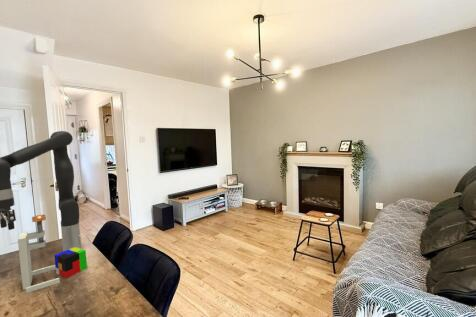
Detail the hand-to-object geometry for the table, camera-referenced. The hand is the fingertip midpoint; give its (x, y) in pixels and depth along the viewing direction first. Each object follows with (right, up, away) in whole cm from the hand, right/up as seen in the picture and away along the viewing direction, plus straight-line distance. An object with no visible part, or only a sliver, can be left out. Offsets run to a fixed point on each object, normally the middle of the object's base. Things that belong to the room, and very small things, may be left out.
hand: (7, 228), depth 119 cm
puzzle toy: (+33, -23, +2) cm, 40 cm away
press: (+24, -24, -5) cm, 34 cm away
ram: (+23, -8, -6) cm, 25 cm away
